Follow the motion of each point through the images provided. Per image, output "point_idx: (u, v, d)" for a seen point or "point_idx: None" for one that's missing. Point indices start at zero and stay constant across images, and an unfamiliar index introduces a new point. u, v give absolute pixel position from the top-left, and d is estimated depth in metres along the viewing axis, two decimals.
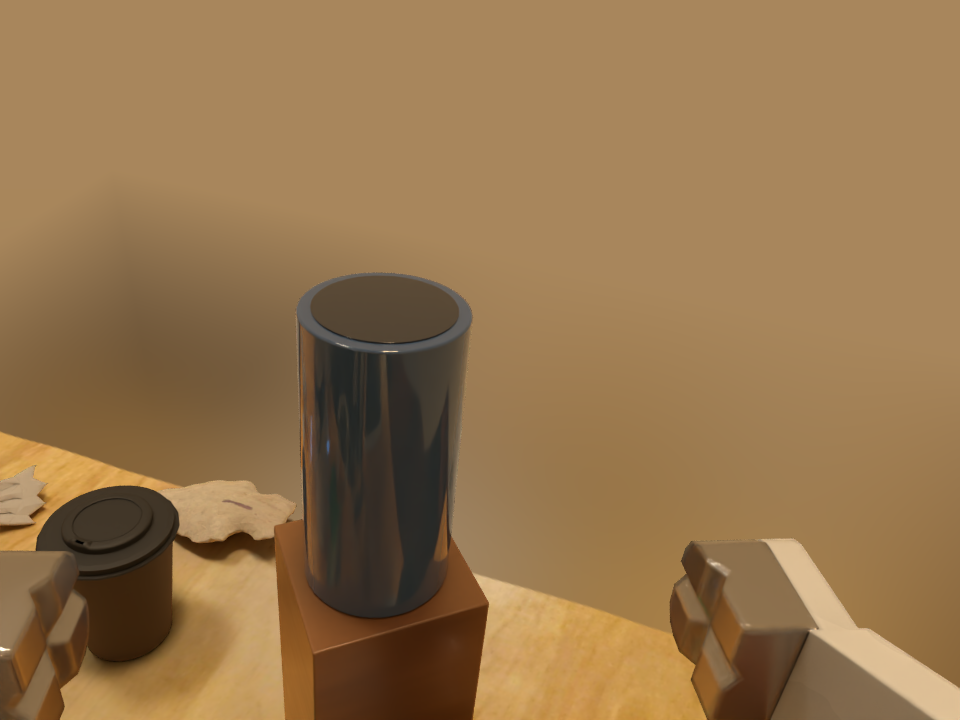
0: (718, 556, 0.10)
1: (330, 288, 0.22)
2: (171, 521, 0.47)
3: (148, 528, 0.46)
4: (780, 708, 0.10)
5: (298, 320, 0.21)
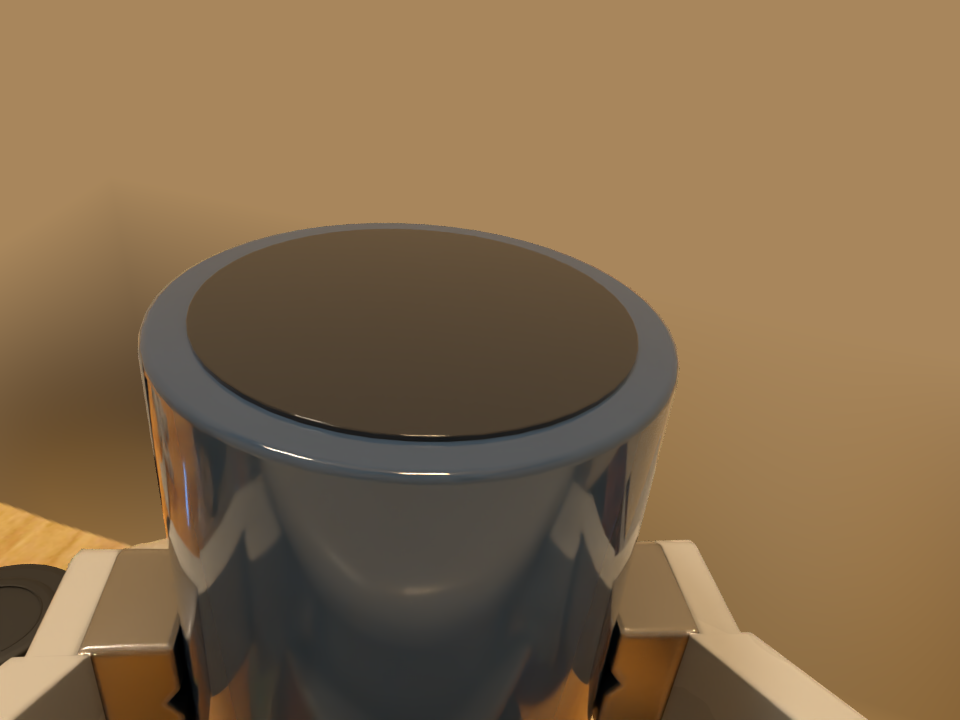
0: None
1: (261, 259, 0.08)
2: None
3: None
4: (667, 714, 0.09)
5: (140, 353, 0.06)
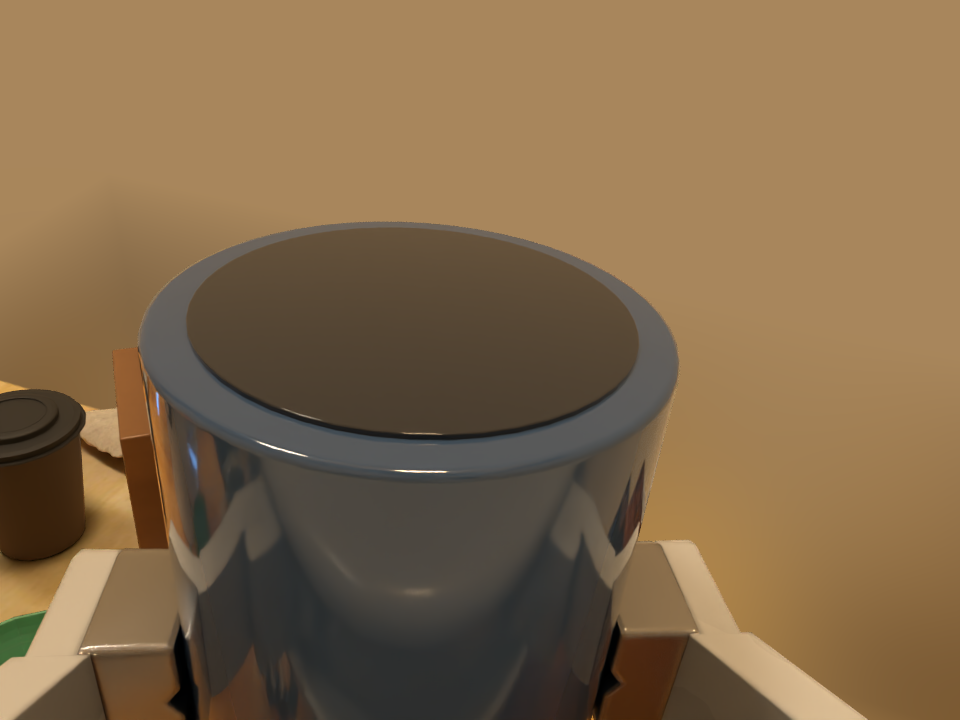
0: None
1: (262, 257, 0.08)
2: (76, 419, 0.48)
3: (52, 424, 0.47)
4: (667, 714, 0.09)
5: (139, 352, 0.06)
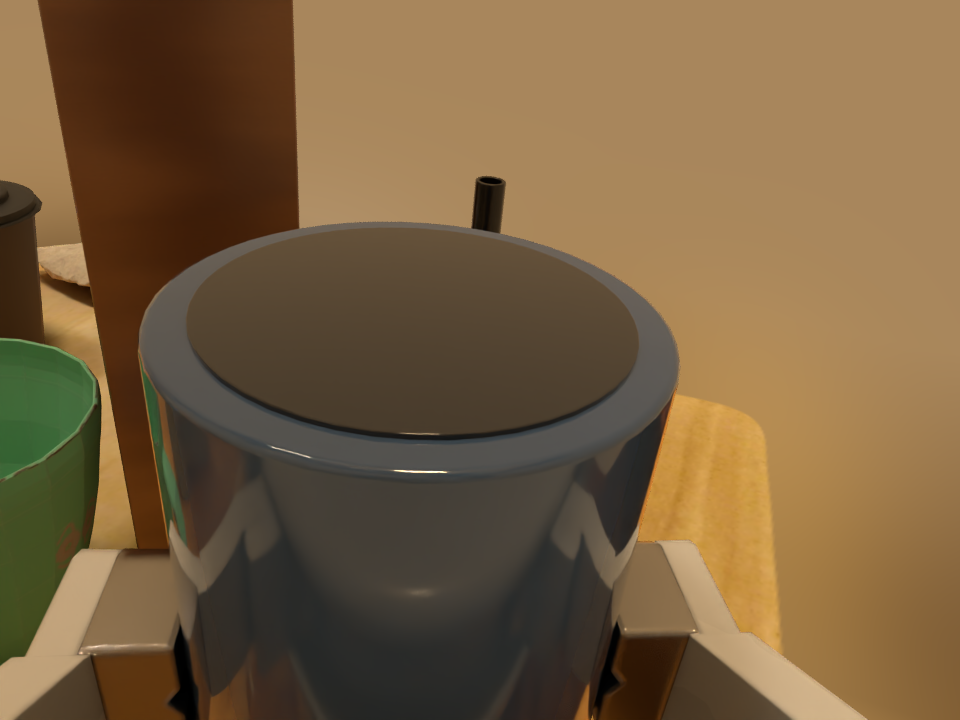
0: None
1: (262, 257, 0.08)
2: (29, 201, 0.41)
3: None
4: (667, 714, 0.09)
5: (140, 352, 0.06)
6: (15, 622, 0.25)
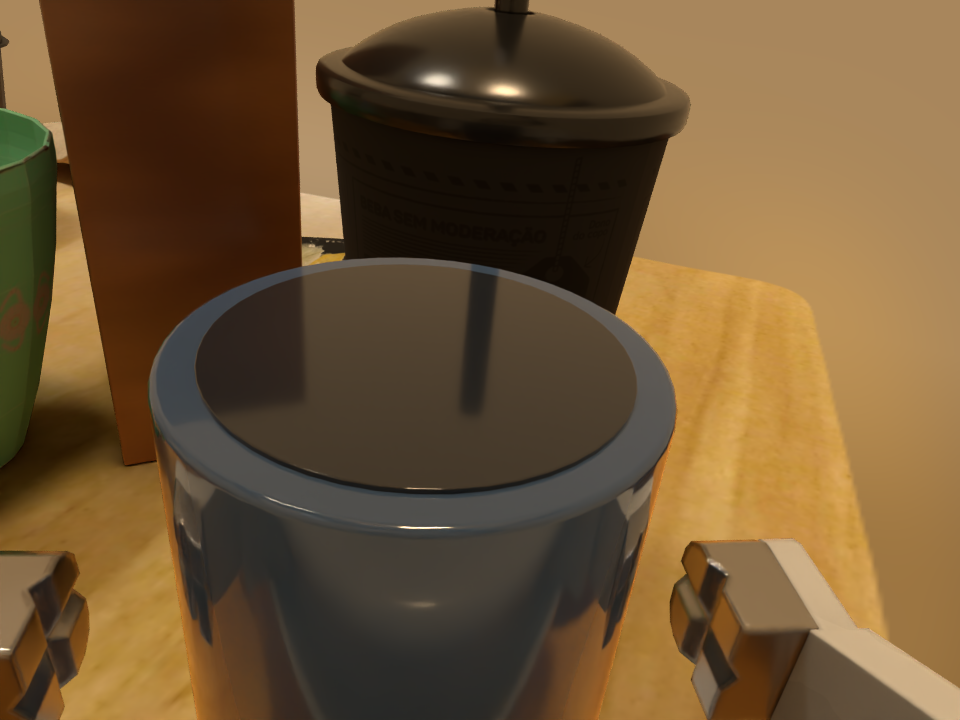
0: (718, 556, 0.10)
1: (268, 299, 0.08)
2: None
3: None
4: (780, 708, 0.10)
5: (149, 402, 0.06)
6: None
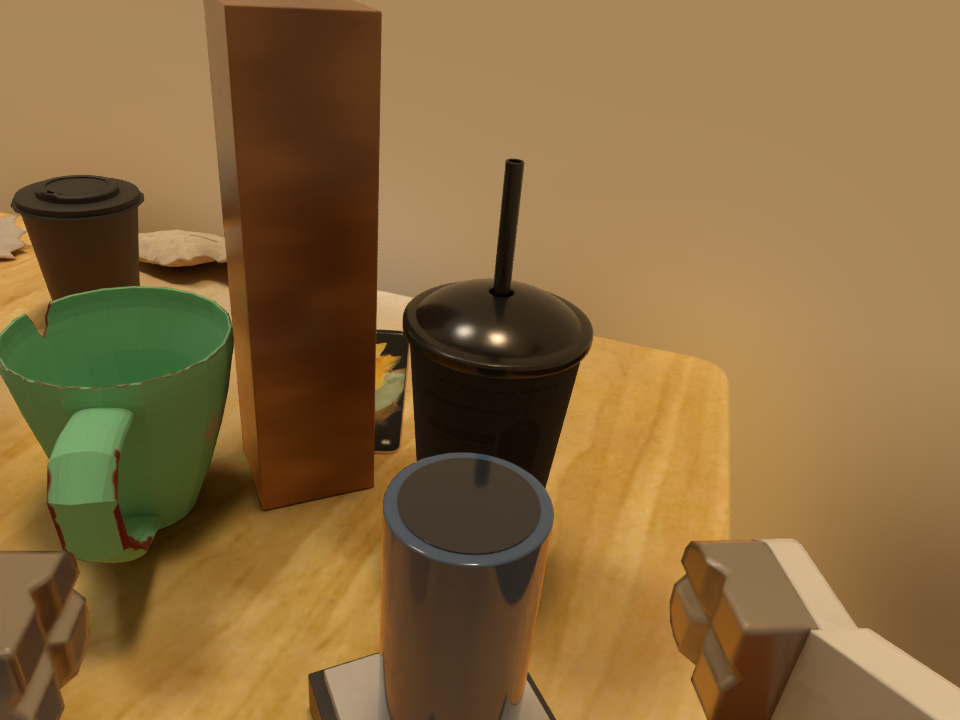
0: (718, 556, 0.10)
1: (413, 479, 0.23)
2: (136, 193, 0.52)
3: (114, 194, 0.51)
4: (780, 708, 0.10)
5: (388, 524, 0.21)
6: (175, 483, 0.36)
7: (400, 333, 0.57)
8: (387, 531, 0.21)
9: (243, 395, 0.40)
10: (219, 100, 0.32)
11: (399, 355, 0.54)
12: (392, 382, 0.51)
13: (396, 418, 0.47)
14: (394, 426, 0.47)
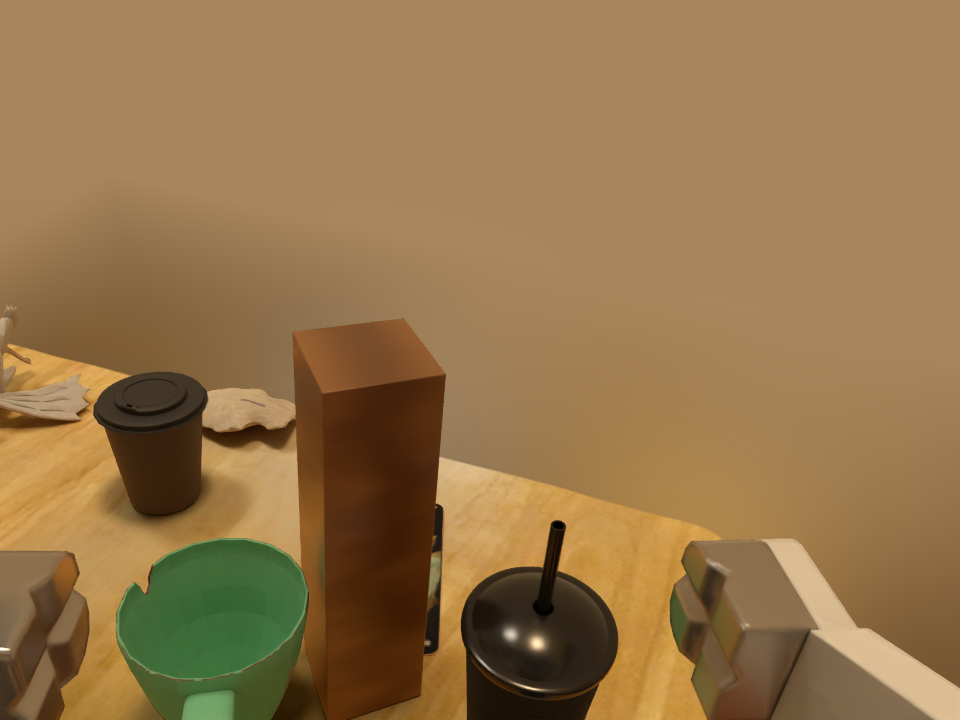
0: (719, 556, 0.10)
1: None
2: (202, 396, 0.58)
3: (183, 399, 0.57)
4: (780, 708, 0.10)
5: None
6: None
7: (435, 506, 0.63)
8: None
9: (310, 624, 0.46)
10: (305, 424, 0.38)
11: (434, 534, 0.60)
12: (430, 569, 0.57)
13: (435, 613, 0.54)
14: (433, 623, 0.53)
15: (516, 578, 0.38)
